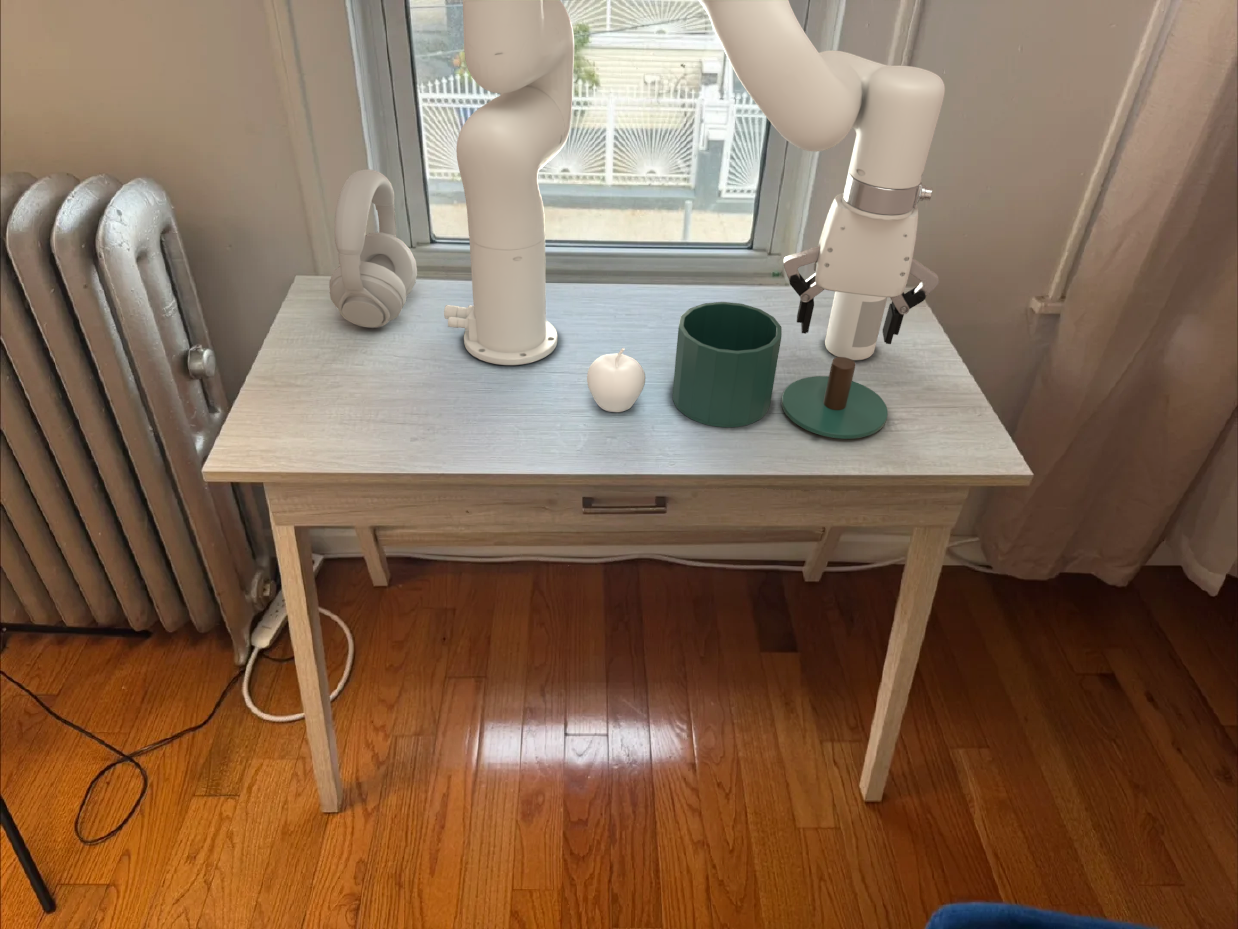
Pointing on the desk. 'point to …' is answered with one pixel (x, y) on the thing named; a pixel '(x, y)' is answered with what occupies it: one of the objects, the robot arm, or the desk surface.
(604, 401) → the plain white apple
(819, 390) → the lid
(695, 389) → the pot
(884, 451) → the desk surface
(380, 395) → the desk surface
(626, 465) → the desk surface
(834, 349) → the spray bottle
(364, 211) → the headphones
